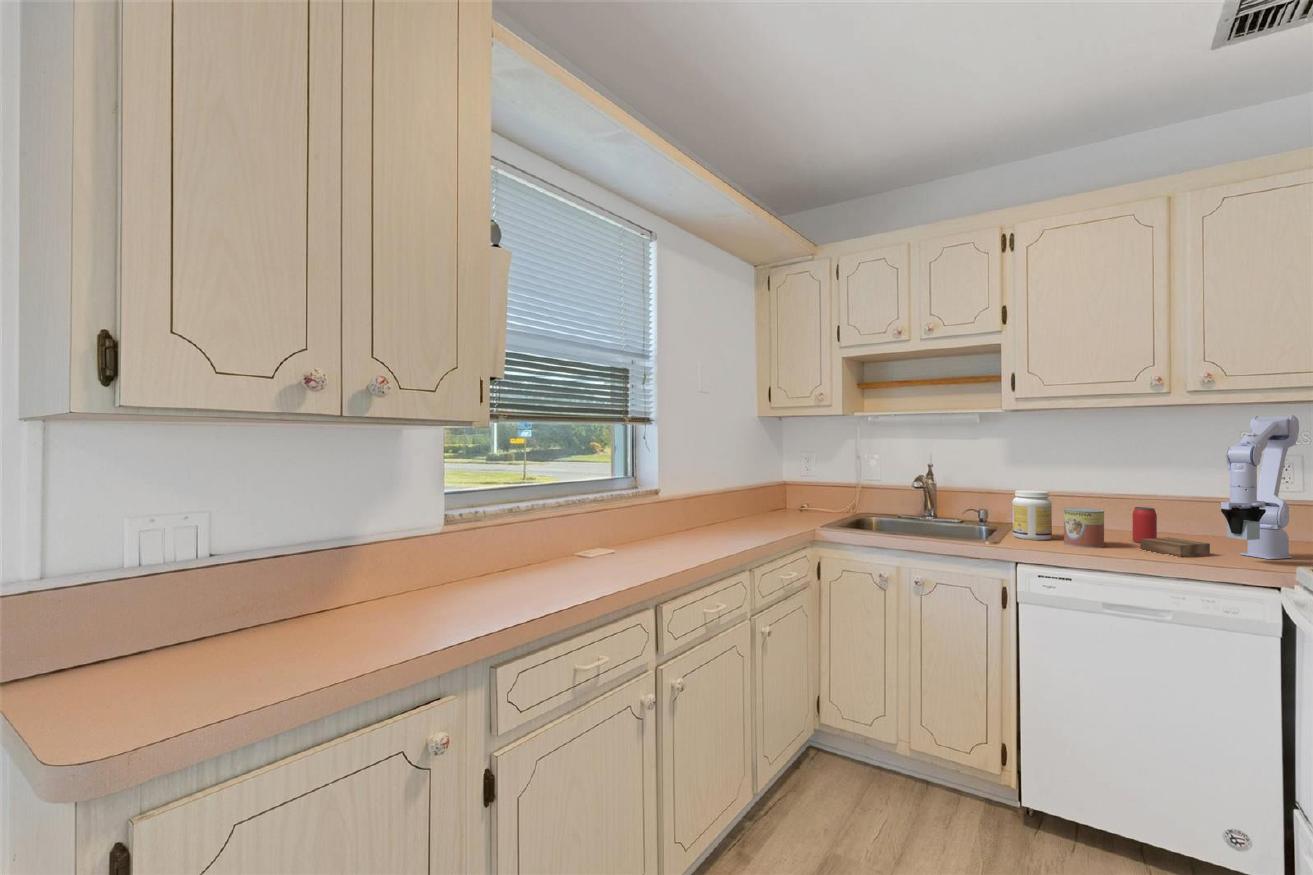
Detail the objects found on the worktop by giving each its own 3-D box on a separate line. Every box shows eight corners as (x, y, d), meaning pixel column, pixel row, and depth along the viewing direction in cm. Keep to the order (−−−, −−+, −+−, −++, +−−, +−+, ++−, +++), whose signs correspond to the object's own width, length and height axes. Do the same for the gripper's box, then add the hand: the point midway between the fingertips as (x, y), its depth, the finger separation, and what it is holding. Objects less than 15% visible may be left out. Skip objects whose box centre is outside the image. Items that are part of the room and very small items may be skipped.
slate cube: (1239, 536, 181) (1239, 519, 181) (1259, 539, 177) (1259, 521, 177) (1227, 537, 180) (1227, 520, 180) (1247, 540, 175) (1247, 522, 175)
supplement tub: (1050, 536, 223) (1049, 490, 223) (1053, 541, 213) (1053, 493, 213) (1011, 534, 229) (1011, 489, 229) (1013, 539, 218) (1013, 491, 218)
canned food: (1056, 543, 210) (1056, 508, 210) (1077, 541, 214) (1077, 507, 214) (1090, 549, 199) (1090, 512, 199) (1112, 546, 204) (1112, 510, 204)
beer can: (1161, 544, 207) (1161, 509, 207) (1139, 544, 208) (1139, 508, 208) (1149, 541, 213) (1149, 507, 213) (1128, 540, 215) (1128, 506, 215)
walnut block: (1168, 549, 200) (1168, 537, 200) (1209, 556, 189) (1209, 543, 189) (1140, 551, 197) (1140, 539, 197) (1180, 558, 186) (1180, 545, 186)
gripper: (1241, 488, 173) (1241, 536, 173) (1277, 487, 176) (1277, 534, 176) (1212, 486, 180) (1212, 532, 180) (1248, 485, 183) (1248, 530, 183)
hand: (1243, 533), depth 178 cm, fingers closed on slate cube, 5 cm apart
